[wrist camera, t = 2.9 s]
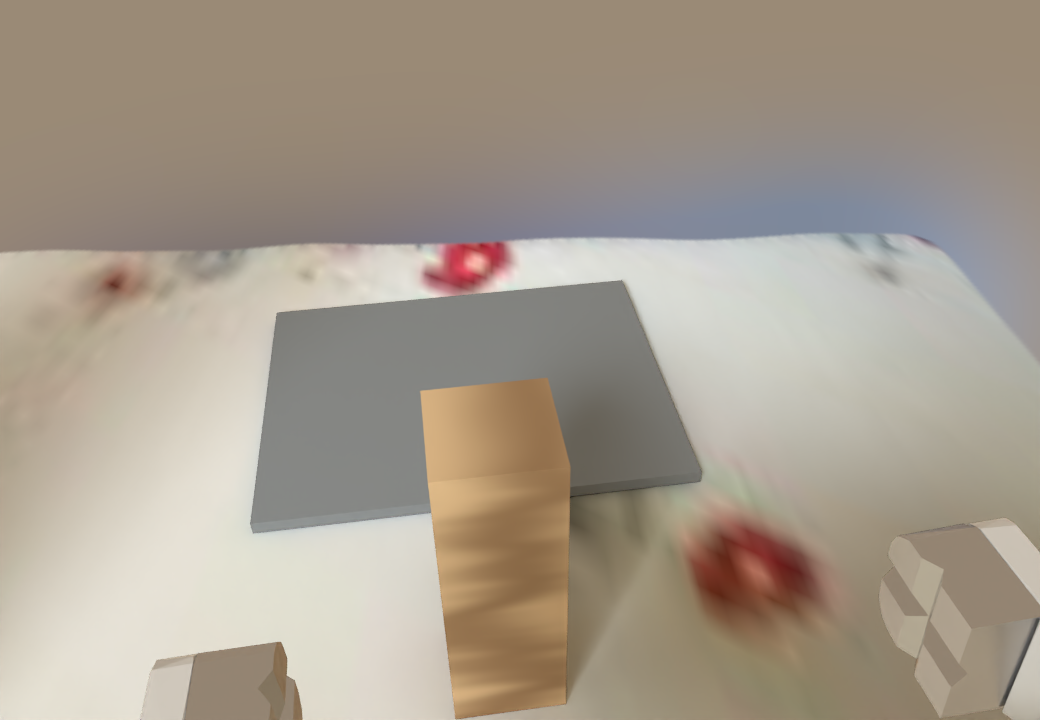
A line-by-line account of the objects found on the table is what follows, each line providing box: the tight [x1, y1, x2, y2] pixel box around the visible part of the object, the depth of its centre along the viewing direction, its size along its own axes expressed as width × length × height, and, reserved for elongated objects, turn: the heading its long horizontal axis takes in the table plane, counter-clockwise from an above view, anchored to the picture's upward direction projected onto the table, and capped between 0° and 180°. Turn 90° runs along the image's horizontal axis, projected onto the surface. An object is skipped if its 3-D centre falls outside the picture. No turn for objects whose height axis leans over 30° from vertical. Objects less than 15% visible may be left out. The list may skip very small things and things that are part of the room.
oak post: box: [420, 378, 571, 719], centre depth 31 cm, size 4×4×12 cm
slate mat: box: [250, 280, 702, 533], centre depth 47 cm, size 20×16×1 cm
